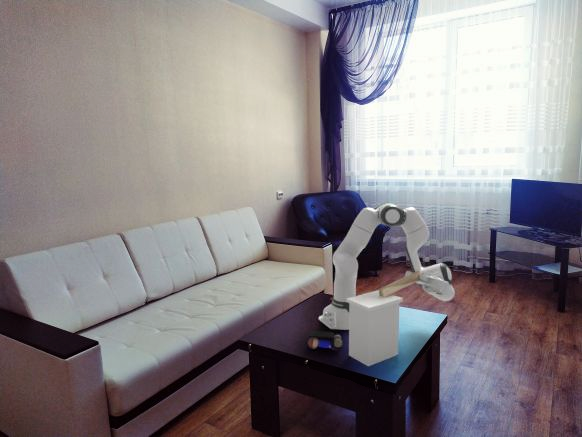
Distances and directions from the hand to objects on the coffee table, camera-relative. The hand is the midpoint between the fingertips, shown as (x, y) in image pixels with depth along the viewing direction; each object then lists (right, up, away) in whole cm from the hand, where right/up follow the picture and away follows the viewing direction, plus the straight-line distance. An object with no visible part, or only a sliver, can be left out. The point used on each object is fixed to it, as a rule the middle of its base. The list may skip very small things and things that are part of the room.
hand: (415, 274), depth 195 cm
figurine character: (-42, -33, -2) cm, 54 cm away
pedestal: (-22, -34, -10) cm, 41 cm away
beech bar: (-7, -5, -4) cm, 10 cm away
